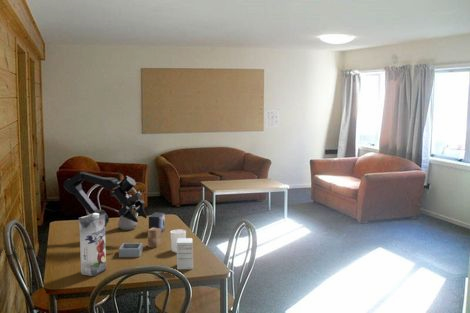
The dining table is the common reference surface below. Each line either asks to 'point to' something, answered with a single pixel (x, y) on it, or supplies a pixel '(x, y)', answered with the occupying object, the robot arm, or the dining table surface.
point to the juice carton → (92, 244)
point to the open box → (130, 249)
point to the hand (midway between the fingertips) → (141, 219)
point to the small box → (157, 221)
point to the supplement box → (184, 253)
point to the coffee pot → (124, 221)
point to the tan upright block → (154, 237)
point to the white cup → (174, 236)
